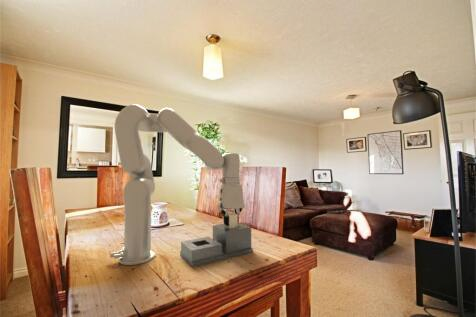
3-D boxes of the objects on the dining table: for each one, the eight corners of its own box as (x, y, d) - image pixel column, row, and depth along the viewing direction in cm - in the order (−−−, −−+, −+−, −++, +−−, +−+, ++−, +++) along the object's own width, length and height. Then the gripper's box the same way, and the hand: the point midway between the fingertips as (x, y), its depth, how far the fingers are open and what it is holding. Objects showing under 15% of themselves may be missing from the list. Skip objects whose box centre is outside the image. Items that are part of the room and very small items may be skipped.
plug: (229, 237, 91) (229, 214, 91) (223, 234, 95) (223, 212, 95) (237, 235, 93) (237, 213, 93) (231, 233, 97) (231, 211, 97)
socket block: (192, 267, 76) (192, 238, 77) (180, 254, 88) (180, 229, 89) (252, 252, 90) (252, 227, 91) (235, 243, 102) (234, 221, 103)
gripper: (217, 182, 87) (217, 229, 86) (251, 181, 96) (252, 223, 95) (209, 181, 94) (209, 225, 92) (242, 180, 102) (242, 220, 101)
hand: (231, 224), depth 94 cm, fingers closed on plug, 4 cm apart
